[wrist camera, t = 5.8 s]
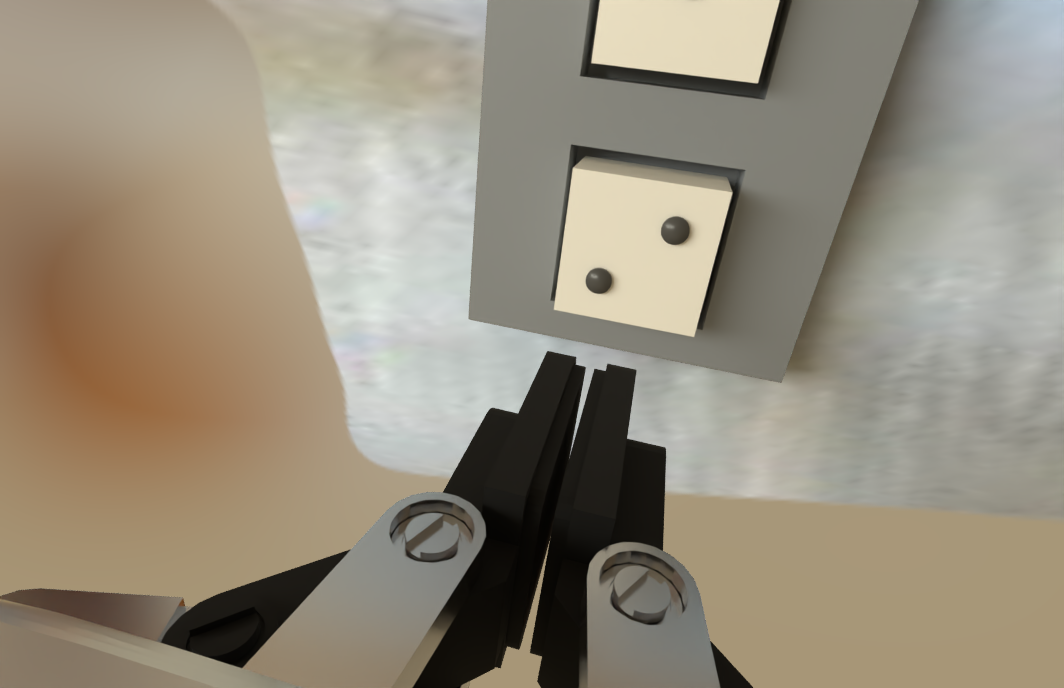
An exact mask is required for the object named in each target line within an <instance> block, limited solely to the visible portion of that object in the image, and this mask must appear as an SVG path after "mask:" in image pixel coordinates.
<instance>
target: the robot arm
mask: <svg viewBox="0 0 1064 688" xmlns="http://www.w3.org/2000/svg"><path fill="white" fill-rule="evenodd" d="M575 364H576V357H573V356H568V355H564V354H559V353H554V352H549V351H547V353H546V355H545V357H544V359H543V362H542V364H541V366H540V368H539V370H538V372H537V374H536V377H535V379H534V381H533V383H532V385H531V387H530V390H529V392H528V394H527V396H526V398H525V400H524V402H523V405H522V407H521V409H520V411H519V413H518V414H517V413H513V412H509V411H504V410H500V409H496V408H491V409H490V410H489V411H488V412H487V414H486V416H485V418H484V419H483V421H482V423H481V425H480V427H479V428H478V430H477V432H476V434H475V436H474V437H473V439H472V441H471V443H470V445H469V446H468V448H467V450H466V452H465V454H464V455H463V457H462V459H461V461H460V463H459V464H458V466H457V468H456V470H455V471H454V473H453V475H452V477H451V479H450V480H449V482H448V484H447V486H446V488H445V489H444V491H443V493H440V492H426V493H421V494H416V495H411V496H410V497H407V498H405V499H402V500H400V501H398V502H397V503H396V504H394V505H393V506H392V507H391V508H389V509H388V510H387V511H386V512H385V513H384V514H383V515H382V516H381V518H380V519H379V520H378V521H377V522H376V523H375V524H374V525H373V526H372V527H371V528H370V529H369V531H368V532H367V533H366V534H365V535H364V536H363V537H362V538H361V539H360V540H359V541H358V543H357V544H356V545H355V546H354V547H353V548H352V549H351V550H348V551H345V552H342V553H339V554H336V555H333V556H330V557H327V558H324V559H321V560H318V561H315V562H312V563H309V564H306V565H303V566H300V567H297V568H294V569H291V570H288V571H285V572H282V573H279V574H276V575H273V576H270V577H267V578H265V579H261V580H259V581H255V582H253V583H250V584H247V585H244V586H241V587H238V588H235V589H232V590H229V591H226V592H223V593H220V594H218V595H215V596H213V597H211V598H209V599H206V600H204V601H202V602H200V603H198V604H197V605H195V606H194V607H186V606H185V604H184V599H183V598H180V597H164V596H150V595H135V594H134V595H133V594H119V593H104V592H88V591H73V590H57V589H42V588H40V589H27V590H18V591H15V592H12V593H9V594H5V595H2V596H0V688H469V685H470V681H471V680H473V679H475V678H477V677H479V676H481V675H483V674H485V673H487V672H488V671H490V670H492V669H494V668H495V667H498V668H501V665H502V661H503V658H504V655H505V651H506V648H507V646H508V647H511V648H515V649H518V650H519V649H520V646H521V643H522V639H523V635H524V632H525V628H526V624H527V620H528V617H529V614H530V610H531V606H532V602H533V599H534V595H535V591H536V588H537V584H538V581H539V577H540V573H541V569H542V566H543V562H544V559H545V555H546V551H547V547H548V544H549V549H548V555H547V560H546V566H545V571H544V577H543V583H542V588H541V594H540V600H539V605H538V610H537V616H536V621H535V627H534V633H533V638H532V644H531V649H530V653H532V654H536V655H539V656H542V660H541V666H540V670H539V676H538V681H537V682H538V683H539V685H540V687H541V688H753V687H752V686H751V685H750V683H749V682H748V681H747V680H746V679H745V678H744V677H743V676H742V675H741V674H740V673H739V672H738V670H737V669H736V668H735V667H734V666H733V665H732V664H731V663H730V662H729V661H728V660H727V658H726V657H725V656H724V655H723V654H722V653H721V652H720V651H719V650H718V649H717V648H716V646H715V645H714V644H713V643H712V642H711V641H710V638H709V634H708V629H707V625H706V620H705V616H704V611H703V606H702V602H701V597H700V593H699V591H698V588H697V586H696V583H695V581H694V579H693V577H692V576H691V575H690V574H689V572H688V571H687V569H686V568H685V567H684V566H683V565H682V564H681V563H680V562H678V561H677V560H676V559H675V558H674V557H672V556H671V555H670V554H668V553H666V552H664V551H663V530H664V500H665V499H664V497H665V470H666V449H665V447H660V446H656V445H652V444H647V443H643V442H639V441H634V440H630V439H627V434H628V427H629V420H630V413H631V406H632V399H633V392H634V384H635V377H636V370H634V369H630V368H625V367H620V366H616V365H611V364H607V368H606V371H602V370H598V369H594V373H593V376H592V380H591V383H590V387H589V390H588V394H587V398H586V401H585V405H584V408H583V412H582V415H581V419H580V423H579V426H578V430H577V433H576V437H575V440H574V444H573V448H572V451H571V446H572V440H573V435H574V430H575V424H576V419H577V413H578V408H579V402H580V397H581V391H582V386H583V381H584V375H585V369H586V367H584V366H579V365H575ZM570 451H571V455H570ZM569 457H570V458H569ZM550 537H551V538H550ZM549 541H550V543H549Z"/></svg>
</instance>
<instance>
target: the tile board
mask: <svg viewBox="0 0 1064 688" xmlns="http://www.w3.org/2000/svg"><path fill="white" fill-rule="evenodd" d="M918 2H919V0H780V1H779V5H778V9H777V12H776V16H775V20H774V24H773V28H772V31H771V35H770V39H769V43H768V47H767V50H766V54H765V58H764V62H763V66H762V69H761V73H760V77H759V81H758V83H750V82H742V81H734V80H726V79H718V78H709V77H701V76H693V75H685V74H677V73H669V72H661V71H653V70H644V69H636V68H628V67H620V66H612V65H604V64H596V63H591V61H592V54H593V47H594V40H595V32H596V25H597V18H598V11H599V3H600V0H488V2H487V19H486V35H485V52H484V69H483V86H482V102H481V119H480V136H479V152H478V169H477V186H476V202H475V219H474V236H473V252H472V269H471V286H470V303H469V319H470V320H475V321H479V322H484V323H489V324H494V325H499V326H504V327H509V328H514V329H519V330H524V331H529V332H534V333H539V334H544V335H548V336H553V337H558V338H563V339H568V340H573V341H578V342H583V343H588V344H593V345H598V346H603V347H608V348H612V349H617V350H622V351H627V352H632V353H637V354H642V355H647V356H652V357H657V358H662V359H667V360H672V361H677V362H681V363H686V364H691V365H696V366H701V367H706V368H711V369H716V370H721V371H726V372H731V373H736V374H741V375H745V376H750V377H755V378H760V379H765V380H770V381H775V382H780V383H781V382H782V380H783V377H784V374H785V371H786V369H787V366H788V363H789V360H790V357H791V355H792V352H793V349H794V346H795V344H796V341H797V338H798V335H799V332H800V330H801V327H802V324H803V321H804V319H805V316H806V313H807V310H808V307H809V305H810V302H811V299H812V296H813V294H814V291H815V288H816V285H817V282H818V280H819V277H820V274H821V271H822V269H823V266H824V263H825V260H826V257H827V255H828V252H829V249H830V246H831V244H832V241H833V238H834V235H835V232H836V230H837V227H838V224H839V221H840V219H841V216H842V213H843V210H844V207H845V205H846V202H847V199H848V196H849V194H850V191H851V188H852V185H853V182H854V180H855V177H856V174H857V171H858V169H859V166H860V163H861V160H862V157H863V155H864V152H865V149H866V146H867V144H868V141H869V138H870V135H871V132H872V130H873V127H874V124H875V121H876V119H877V116H878V113H879V110H880V107H881V105H882V102H883V99H884V96H885V94H886V91H887V88H888V85H889V82H890V80H891V77H892V74H893V71H894V69H895V66H896V63H897V60H898V57H899V55H900V52H901V49H902V46H903V44H904V41H905V38H906V35H907V32H908V30H909V27H910V24H911V21H912V19H913V16H914V13H915V10H916V7H917V5H918ZM585 156H590V157H596V158H603V159H610V160H616V161H623V162H630V163H636V164H643V165H650V166H656V167H663V168H670V169H676V170H683V171H690V172H697V173H703V174H710V175H717V176H723V177H727V178H728V181H729V184H730V187H731V190H732V192H733V193H732V196H731V200H730V204H729V208H728V211H727V215H726V219H725V223H724V226H723V230H722V234H721V238H720V241H719V245H718V249H717V253H716V256H715V260H714V264H713V268H712V272H711V275H710V279H709V283H708V287H707V290H706V294H705V298H704V302H703V305H702V309H701V313H700V317H699V320H698V324H697V328H696V332H695V335H694V337H691V336H686V335H681V334H676V333H671V332H666V331H660V330H655V329H650V328H645V327H640V326H635V325H630V324H625V323H619V322H614V321H609V320H604V319H599V318H594V317H589V316H584V315H578V314H573V313H568V312H563V311H558V310H554V304H555V297H556V289H557V282H558V275H559V267H560V260H561V252H562V245H563V238H564V230H565V223H566V215H567V208H568V201H569V193H570V186H571V178H572V171H573V167H574V166H575V165H577V164H578V163H579V162H580V161H581V160H582V159H583V158H584V157H585Z"/></svg>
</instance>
